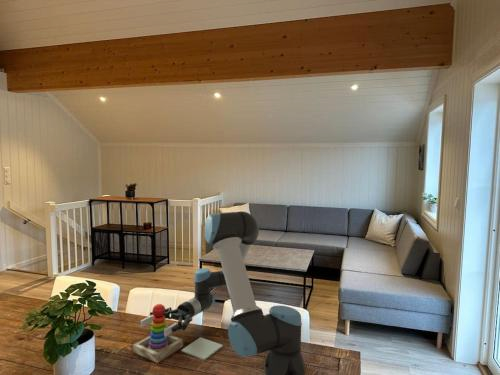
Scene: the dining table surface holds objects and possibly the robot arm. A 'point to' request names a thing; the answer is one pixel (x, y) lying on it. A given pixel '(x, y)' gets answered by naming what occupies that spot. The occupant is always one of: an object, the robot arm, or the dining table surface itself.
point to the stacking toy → (158, 329)
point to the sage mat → (202, 348)
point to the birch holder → (158, 356)
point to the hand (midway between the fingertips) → (152, 328)
